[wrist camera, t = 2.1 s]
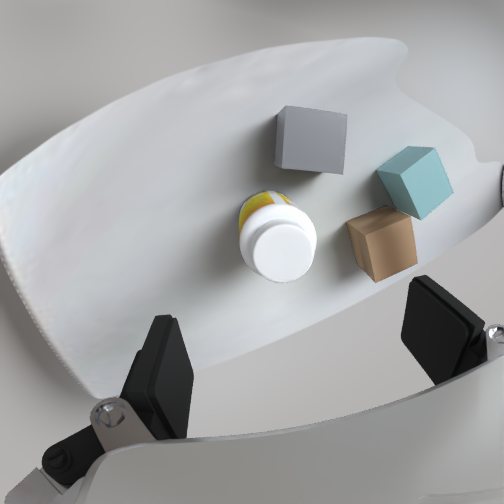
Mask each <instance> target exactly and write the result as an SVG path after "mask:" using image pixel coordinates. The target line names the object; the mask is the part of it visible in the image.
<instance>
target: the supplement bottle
mask: <svg viewBox="0 0 504 504" xmlns="http://www.w3.org/2000/svg"><path fill="white" fill-rule="evenodd" d="M239 243H240V250H241V254H242V257H243V259H244V261H245V262H246V264H247V265H248V266H249V267H250V268H251V269H252V270H253V271H254V272H256V273H257V274H259V275H261V276H263V277H264V278H266V279H268V280H270V281H273V282H276V283H287V282H292V281H294V280H296V279H298V278H300V277H301V276H303V275H304V274H305V273H306V272H307V270H308V269H309V268H310V266H311V264H312V261H313V258H314V252H315V249H316V243H317V237H316V231H315V228H314V226H313V223H312V222H311V220H310V219H309V217H308V216H307V215H306V214H305V213H304V212H303V211H302V210H301V209H300V208H299V207H298V206H297V205H295V204H294V203H293V202H292V201H291V200H290V199H289V198H288V197H286V196H285V195H283V194H281V193H279V192H276V191H261V192H258V193H256V194H254V195H252V196H251V197H249V198H248V199H247V200H246V201H245V203H244V204H243V206H242V208H241V210H240V214H239Z"/></svg>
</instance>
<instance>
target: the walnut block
mask: <svg viewBox="0 0 504 504" xmlns="http://www.w3.org/2000/svg"><path fill="white" fill-rule="evenodd" d="M346 224H347V227H348V231H349V235H350V238H351V242H352V246H353V250H354V254H355V258H356V262H357V264H358V265H359V266H360V267H361V268H362V269H363V270H364V271H365V272H366V273H367V275H368V276H369V277H370V278H371V279H372V280H373V281H374V282H375V283H377V282H379V281H381V280H383V279H386V278H388V277H390V276H392V275H394V274H396V273H399V272H401V271H403V270H405V269H407V268H409V267H411V266H413V265H415V264H417V263H418V262H417V254H416V246H415V240H414V233H413V227H412V221H411V216H409V215H407V214H404V213H402V212H400V211H398V210H395V209H393V208H391V207H388V206H384V207H382V208H379V209H376V210H374V211H371V212H369V213H366V214H364V215H361V216H359V217H356V218H354V219H351V220H348V221H346Z"/></svg>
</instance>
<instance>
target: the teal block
mask: <svg viewBox="0 0 504 504" xmlns="http://www.w3.org/2000/svg"><path fill="white" fill-rule="evenodd" d="M376 171H377V173H378V175H379V177H380V178H381V180H382V182H383V184H384V186H385V188H386V190H387V191H388V193H389V195H390V197H391V199H392V201H393V203H394V205H395V207H396V209H397V210H400V211H402V212H404V213H406V214H409V215H411V216H413V217H415V218H417V219H420V220H422V219H423V218H425V217H426V216H427V215H428V214H429V213H431V212H432V211H433V210H434V209H435V208H436V207H438V206H439V205H440V204H441V203H442V202H443V201H445V200H446V199H447V198H448V197H449V196H450V195H451V194H453V193H454V192H453V190H452V187H451V184H450V182H449V179H448V177H447V174H446V172H445V169H444V167H443V164H442V162H441V160H440V158H439V155H438V153H437V151H436V149H435V148H431V147H413V146H408V147H407V148H405V149H404V150H402V151H401V152H400V153H398V154H397V155H396V156H394V157H393V158H391V159H390V160H389V161H387V162H386V163H385V164H383V165H382V166H380V167H379V168H378V169H376Z"/></svg>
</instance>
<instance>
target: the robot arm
mask: <svg viewBox="0 0 504 504" xmlns="http://www.w3.org/2000/svg"><path fill="white" fill-rule="evenodd" d="M502 198H503V206H504V172H503V179H502ZM484 325H485V322H484V321H483V320H482V319H481V318H480V317H478V316H477V315H476V314H475V313H474V312H472V311H471V310H470V309H469V308H468V307H466V306H465V305H464V304H463V303H462V302H460V301H459V300H458V299H457V298H455V297H454V296H453V295H452V294H450V293H449V292H448V291H447V290H445V289H444V288H443V287H441V286H440V285H439V284H438V283H436V282H435V281H433V280H432V279H431V278H430V277H428V276H427V275H422V276H418V277H414V278H413V279H412V281H411V282H410V284H409V290H408V297H407V303H406V309H405V315H404V321H403V326H402V332H401V339H402V342H403V343H404V344H405V346H406V347H407V348H408V350H409V351H410V352H411V353H412V355H413V356H414V357H415V359H416V360H417V361H418V363H419V364H420V365H421V367H422V368H423V369H424V371H425V372H426V373H427V374H428V376H429V377H430V378H431V380H432V381H433V383H434V384H435V385H436V386H433V387H431V388H429V389H426V390H424V391H421V392H419V393H416V394H413V395H411V396H408V397H406V398H402V399H400V400H397V401H394V402H391V403H388V404H385V405H382V406H379V407H376V408H373V409H369V410H366V411H362V412H359V413H355V414H352V415H348V416H344V417H340V418H336V419H332V420H328V421H323V422H318V423H314V424H309V425H304V426H299V427H293V428H288V429H281V430H274V431H267V432H260V433H251V434H241V435H231V436H220V437H203V438H186V437H187V428H188V419H189V411H190V403H191V394H192V387H193V380H194V374H193V369H192V366H191V363H190V360H189V357H188V354H187V351H186V348H185V344H184V341H183V338H182V334H181V331H180V328H179V324H178V321H177V319H176V318H172V316H171V315H158V316H155V318H154V320H153V323H152V325H151V328H150V330H149V332H148V335H147V337H146V340H145V342H144V345H143V347H142V350H139V351H138V352H137V354H136V356H135V358H134V361H133V363H132V366H131V369H130V371H129V374H128V376H127V379H126V381H125V384H124V387H123V389H122V392H121V395H120V397H119V398H116V397H114V398H108V399H105V400H102V401H101V402H99V403H98V404H97V405H96V406H95V407H94V408H93V410H92V411H91V415H90V421H91V425H90V426H88V427H86V428H84V429H82V430H81V431H79V432H77V433H75V434H73V435H71V436H69V437H68V438H66V439H64V440H62V441H60V442H58V443H56V444H54V445H52V446H51V447H49V448H48V449H47V450H46V452H45V453H44V455H43V457H42V466H43V467H42V468H41V469H40V470H39V469H38V468H37V467H36V468H35V469H34V470H33V471H32V472H31V473H30V474H29V475H27V476H26V477H25V478H24V479H23V480H22V481H21V482H20V483H19V484H18V485H16V486H15V487H14V488H13V489H12V490H11V491H10V492H9V493H8V494H7V496H6V498H5V504H504V325H500V324H495V325H491V326H489V327H488V328H487V329H486V332H485V331H484V330H483V328H484Z"/></svg>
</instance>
